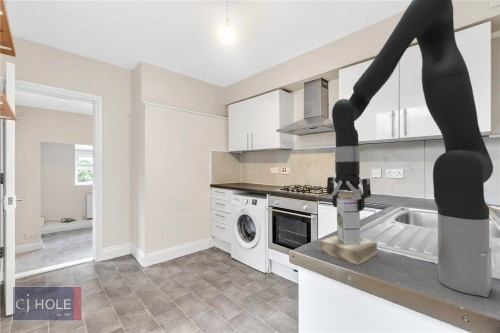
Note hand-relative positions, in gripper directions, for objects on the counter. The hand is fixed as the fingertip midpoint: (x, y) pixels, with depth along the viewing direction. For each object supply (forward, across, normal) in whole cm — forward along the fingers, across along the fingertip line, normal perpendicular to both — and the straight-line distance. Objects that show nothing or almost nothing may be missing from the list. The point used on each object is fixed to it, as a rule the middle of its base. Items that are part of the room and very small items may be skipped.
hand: (347, 208), depth 76 cm
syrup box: (+11, 0, 0) cm, 11 cm away
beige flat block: (+15, 0, 0) cm, 15 cm away
